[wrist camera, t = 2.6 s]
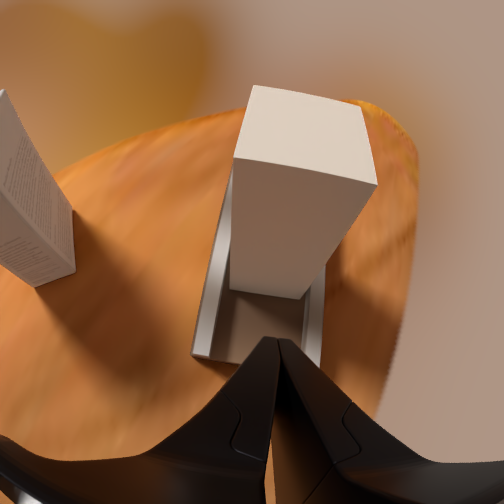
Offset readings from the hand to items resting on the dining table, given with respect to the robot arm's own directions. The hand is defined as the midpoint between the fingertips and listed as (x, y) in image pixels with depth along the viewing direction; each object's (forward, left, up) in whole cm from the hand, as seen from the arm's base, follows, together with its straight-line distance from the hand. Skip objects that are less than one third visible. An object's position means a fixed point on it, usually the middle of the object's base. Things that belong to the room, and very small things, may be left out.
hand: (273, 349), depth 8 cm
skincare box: (-6, +15, -8) cm, 18 cm away
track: (+7, +6, -8) cm, 12 cm away
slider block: (+5, +4, -7) cm, 9 cm away
